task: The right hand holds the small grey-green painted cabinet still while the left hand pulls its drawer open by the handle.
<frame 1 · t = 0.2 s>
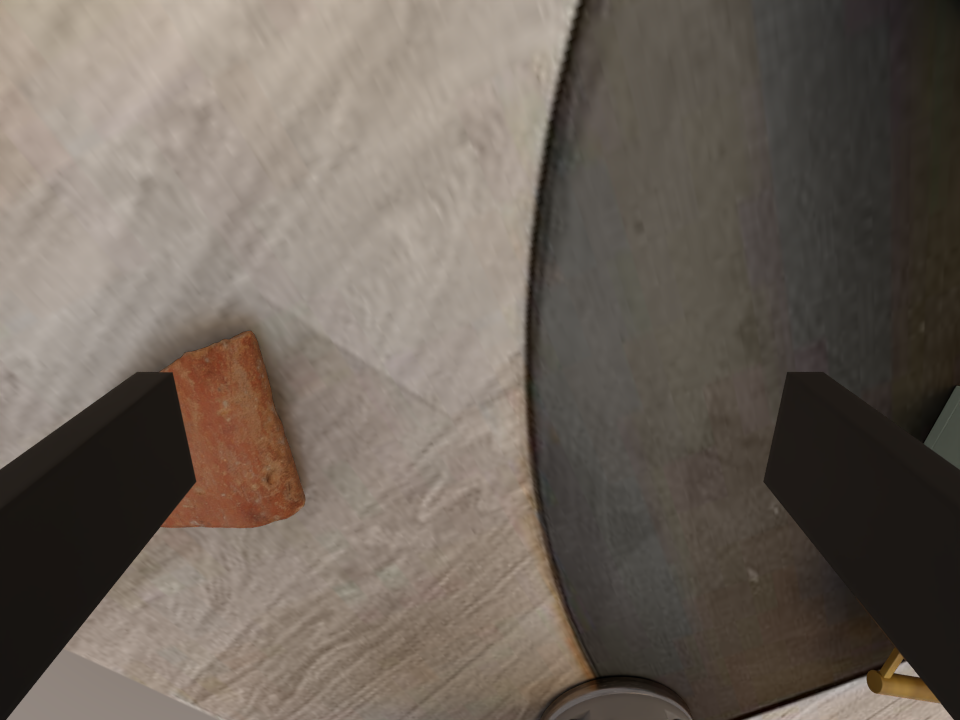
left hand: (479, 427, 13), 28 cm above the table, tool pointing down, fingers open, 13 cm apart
ceramic shard: (195, 425, 44), on the table
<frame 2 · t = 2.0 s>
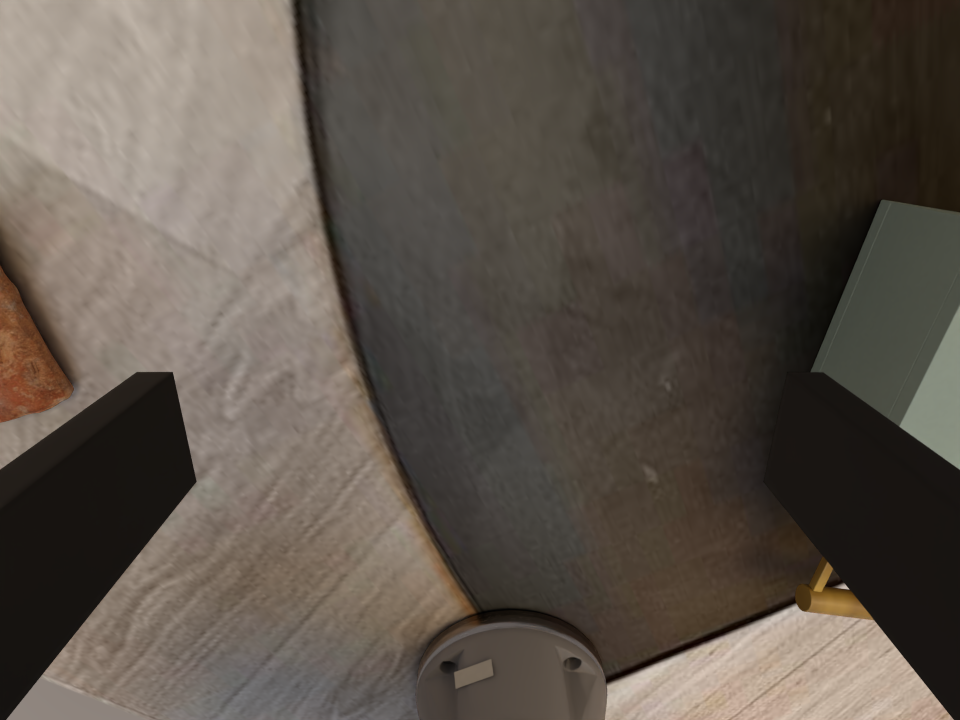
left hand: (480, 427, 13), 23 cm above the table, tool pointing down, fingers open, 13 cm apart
cabinet: (906, 357, 37), on the table
drawer: (912, 465, 35), point 4 cm above the table, slide at 0.6 cm
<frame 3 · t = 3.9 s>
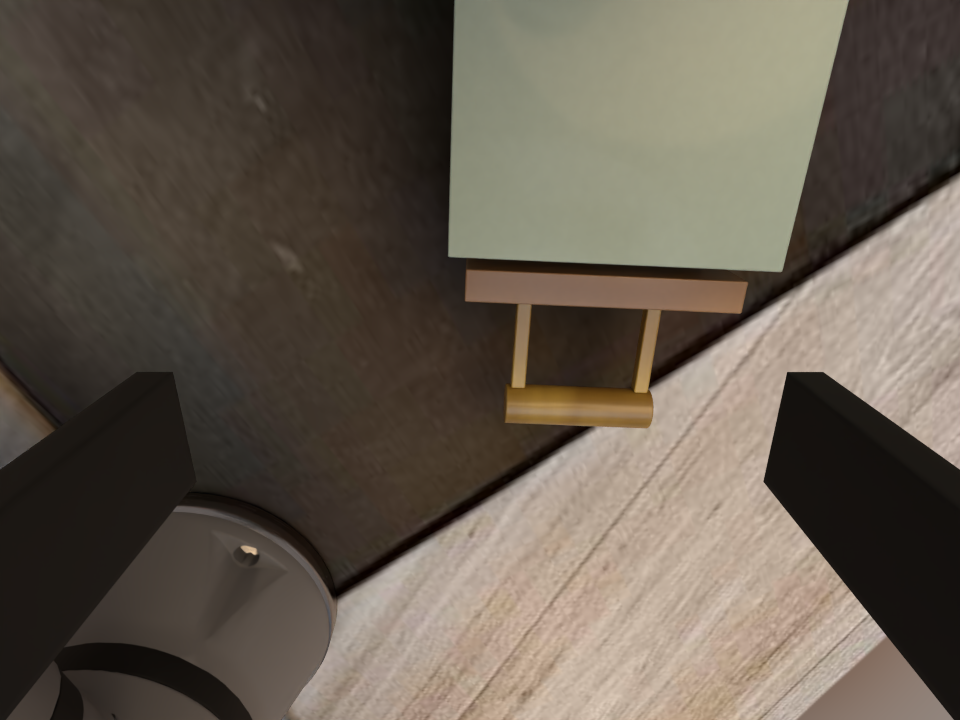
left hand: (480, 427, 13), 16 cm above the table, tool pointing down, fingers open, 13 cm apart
cabinet: (601, 4, 24), on the table, touching right hand
drawer: (604, 150, 22), point 4 cm above the table, slide at 0.6 cm
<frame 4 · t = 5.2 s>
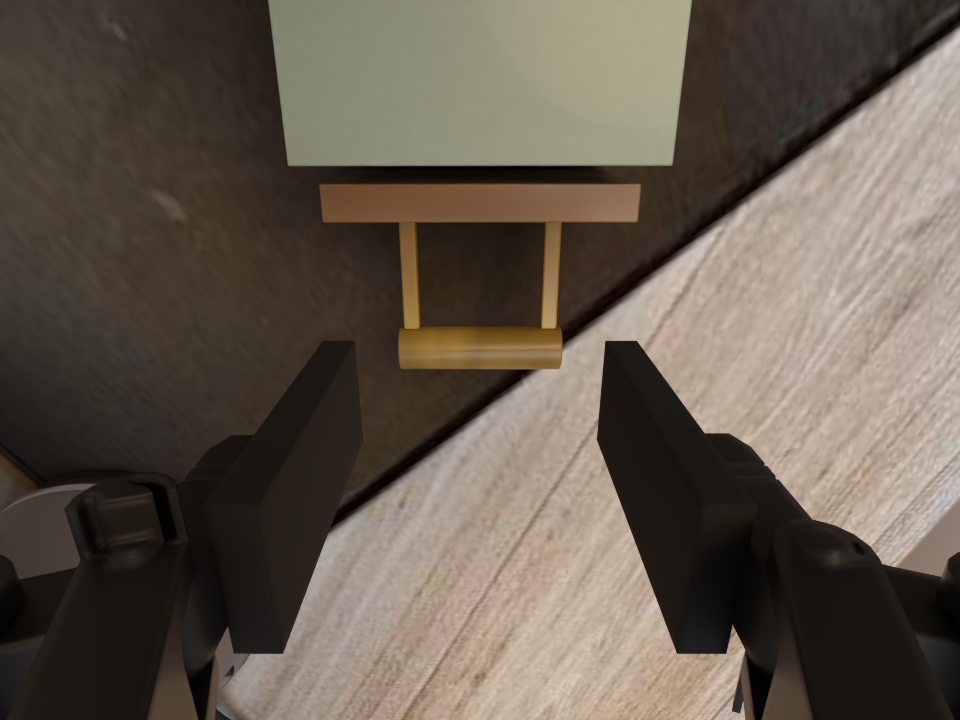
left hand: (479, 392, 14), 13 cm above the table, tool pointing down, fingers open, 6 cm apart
drawer: (479, 49, 19), point 4 cm above the table, slide at 0.6 cm
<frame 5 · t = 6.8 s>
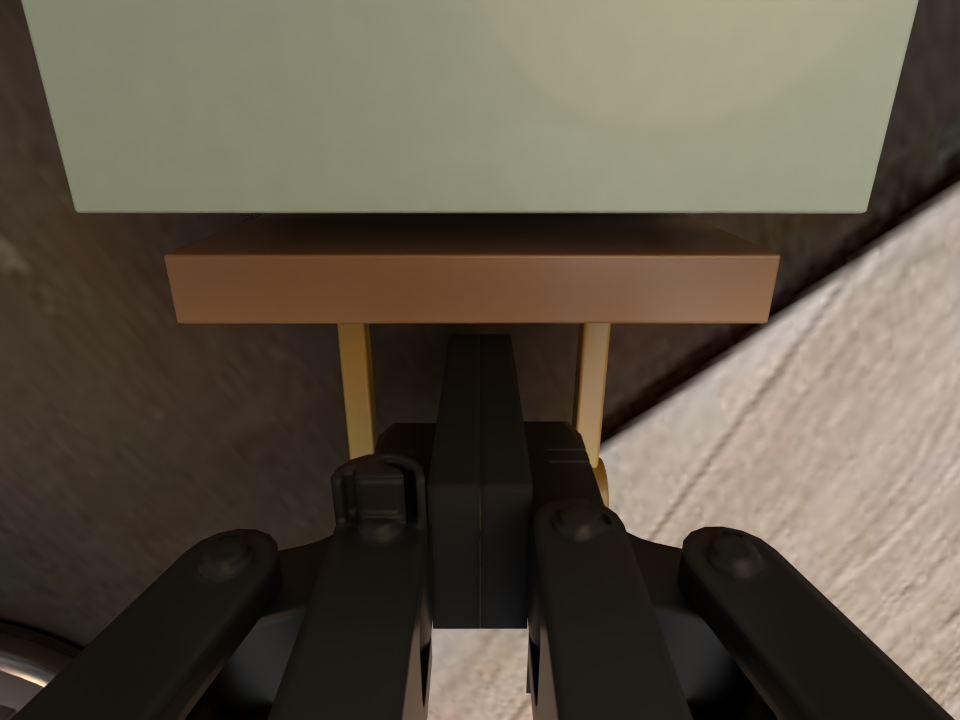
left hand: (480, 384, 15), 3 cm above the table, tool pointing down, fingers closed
drawer: (473, 2, 11), point 4 cm above the table, slide at 0.8 cm, touching left hand
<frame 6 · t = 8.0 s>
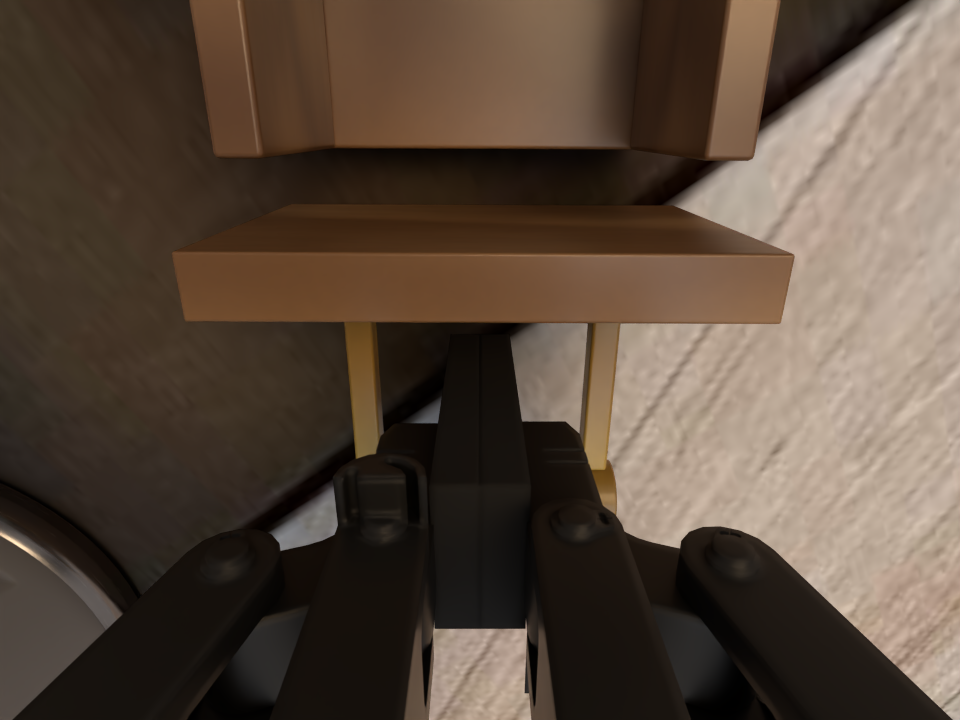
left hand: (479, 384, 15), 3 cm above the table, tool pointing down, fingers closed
drawer: (483, 0, 11), point 4 cm above the table, slide at 7.6 cm, touching left hand
when the right hand's fingers open (4 cm above the table, at t = 9.9 s): cabinet stays where it is, on the table.
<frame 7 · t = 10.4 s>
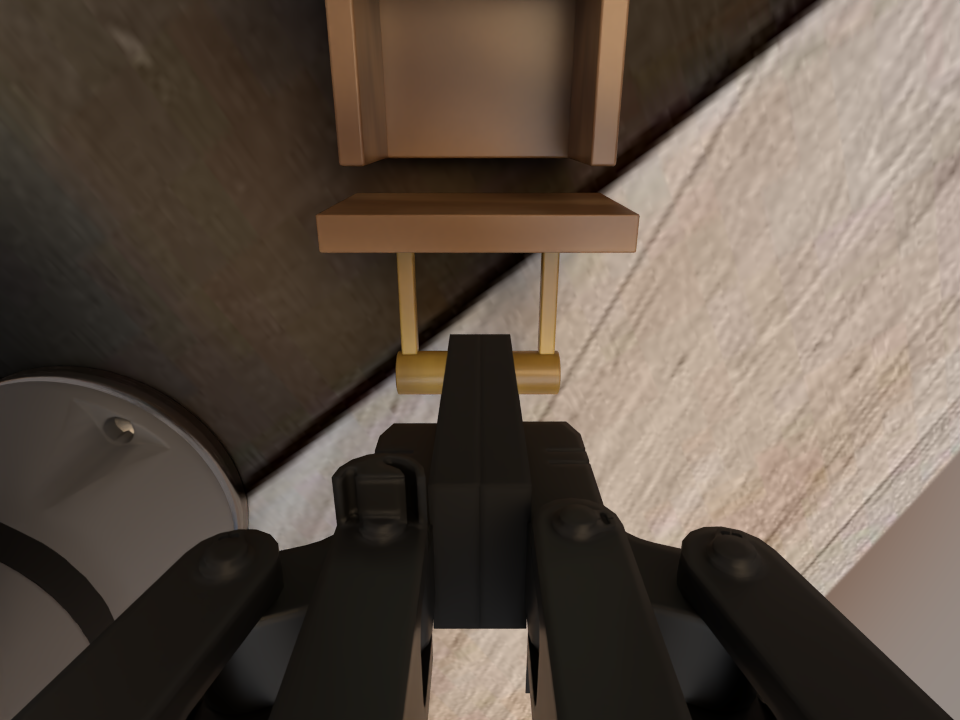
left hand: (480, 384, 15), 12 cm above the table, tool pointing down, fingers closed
drawer: (477, 77, 19), point 4 cm above the table, slide at 7.6 cm
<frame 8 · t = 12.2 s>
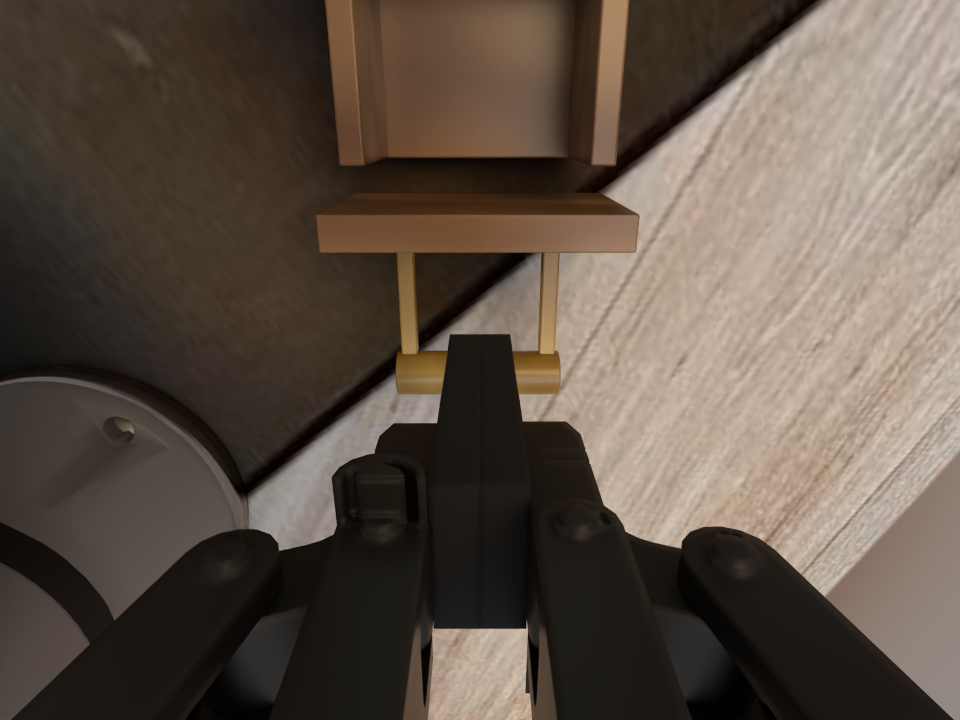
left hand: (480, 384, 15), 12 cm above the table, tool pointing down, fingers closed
drawer: (477, 77, 19), point 4 cm above the table, slide at 7.6 cm
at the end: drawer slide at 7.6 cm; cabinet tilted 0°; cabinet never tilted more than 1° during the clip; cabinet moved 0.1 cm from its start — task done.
